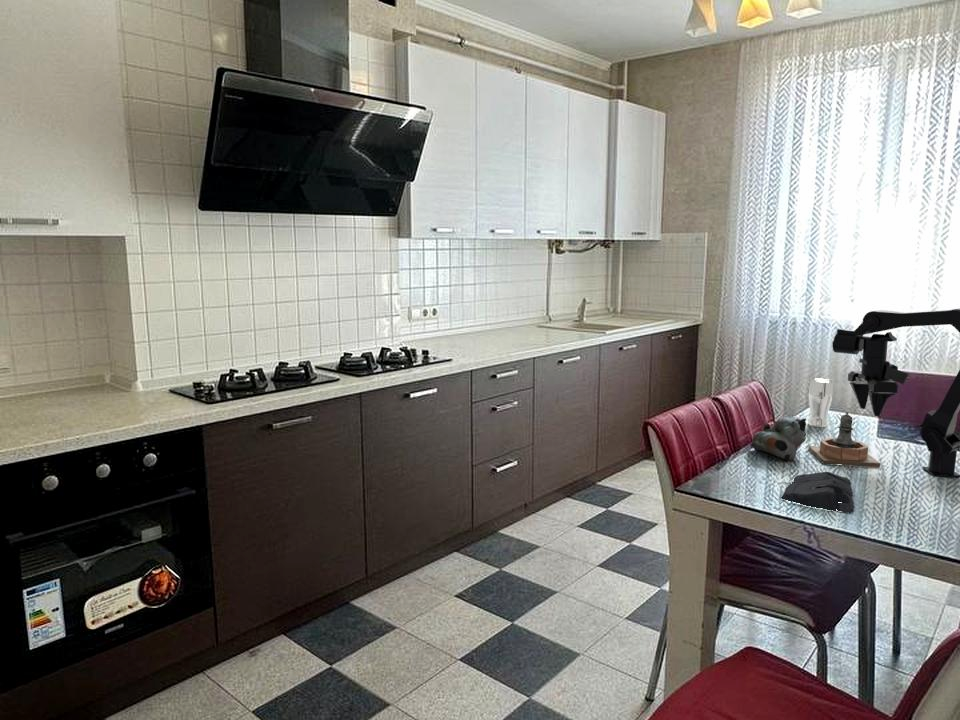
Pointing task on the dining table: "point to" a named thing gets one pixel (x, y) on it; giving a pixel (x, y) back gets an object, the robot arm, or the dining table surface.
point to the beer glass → (820, 401)
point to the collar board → (843, 454)
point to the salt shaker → (845, 433)
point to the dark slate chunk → (821, 491)
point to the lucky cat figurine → (781, 437)
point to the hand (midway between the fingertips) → (869, 412)
